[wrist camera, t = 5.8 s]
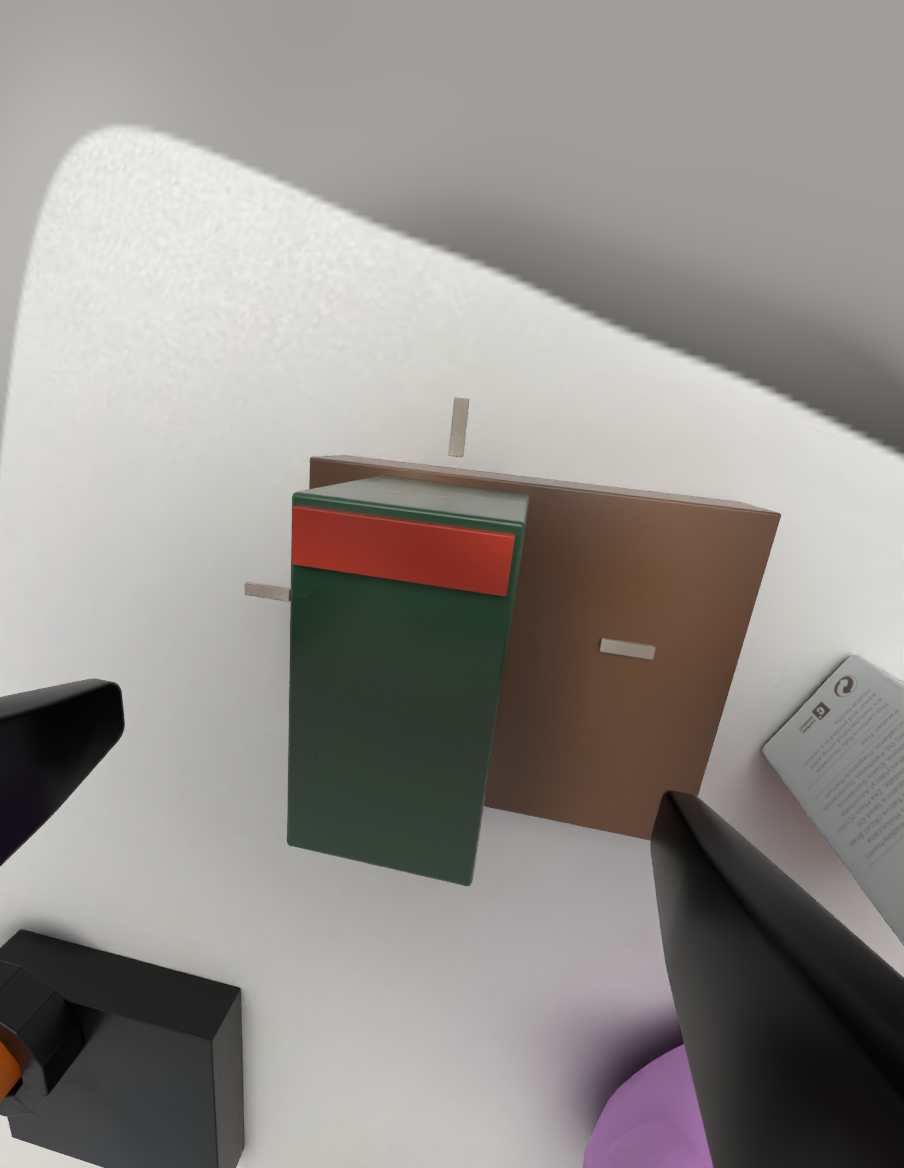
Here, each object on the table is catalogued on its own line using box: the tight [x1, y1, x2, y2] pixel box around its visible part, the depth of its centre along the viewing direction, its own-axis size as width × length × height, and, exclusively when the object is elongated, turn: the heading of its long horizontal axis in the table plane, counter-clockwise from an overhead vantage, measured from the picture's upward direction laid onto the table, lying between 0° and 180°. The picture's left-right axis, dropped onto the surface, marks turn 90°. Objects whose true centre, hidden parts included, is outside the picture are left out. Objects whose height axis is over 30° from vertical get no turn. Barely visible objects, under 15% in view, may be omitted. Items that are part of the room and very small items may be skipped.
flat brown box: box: [245, 398, 781, 840], centre depth 15 cm, size 14×12×3 cm
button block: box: [0, 930, 244, 1168], centre depth 24 cm, size 14×14×4 cm
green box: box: [287, 476, 530, 886], centre depth 11 cm, size 8×4×5 cm, turn 174°
